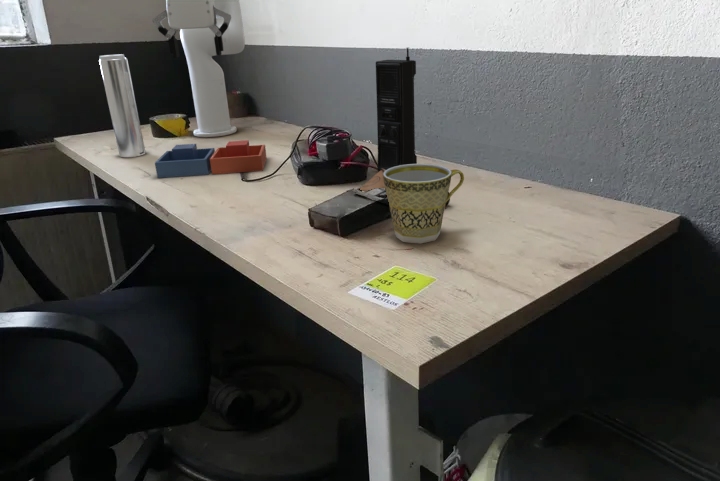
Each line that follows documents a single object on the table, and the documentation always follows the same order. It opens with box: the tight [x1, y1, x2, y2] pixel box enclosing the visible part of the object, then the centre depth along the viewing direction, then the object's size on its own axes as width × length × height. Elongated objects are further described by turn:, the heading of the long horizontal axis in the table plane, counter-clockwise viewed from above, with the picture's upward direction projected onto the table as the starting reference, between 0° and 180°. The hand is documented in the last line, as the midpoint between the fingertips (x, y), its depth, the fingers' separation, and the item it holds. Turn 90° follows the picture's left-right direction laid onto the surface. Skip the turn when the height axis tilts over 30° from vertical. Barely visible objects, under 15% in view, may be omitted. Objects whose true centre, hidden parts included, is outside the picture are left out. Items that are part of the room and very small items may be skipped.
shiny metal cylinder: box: [98, 53, 146, 158], centre depth 144 cm, size 6×6×25 cm
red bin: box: [210, 144, 267, 175], centre depth 132 cm, size 11×11×4 cm
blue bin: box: [154, 147, 216, 179], centre depth 131 cm, size 11×11×4 cm
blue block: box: [171, 143, 199, 161], centre depth 130 cm, size 5×5×5 cm
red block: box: [225, 139, 250, 157], centre depth 131 cm, size 5×5×5 cm
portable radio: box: [375, 47, 418, 172], centre depth 117 cm, size 8×6×25 cm
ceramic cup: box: [383, 163, 465, 245], centre depth 86 cm, size 13×10×10 cm
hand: (197, 56), depth 130 cm, fingers open, 9 cm apart
